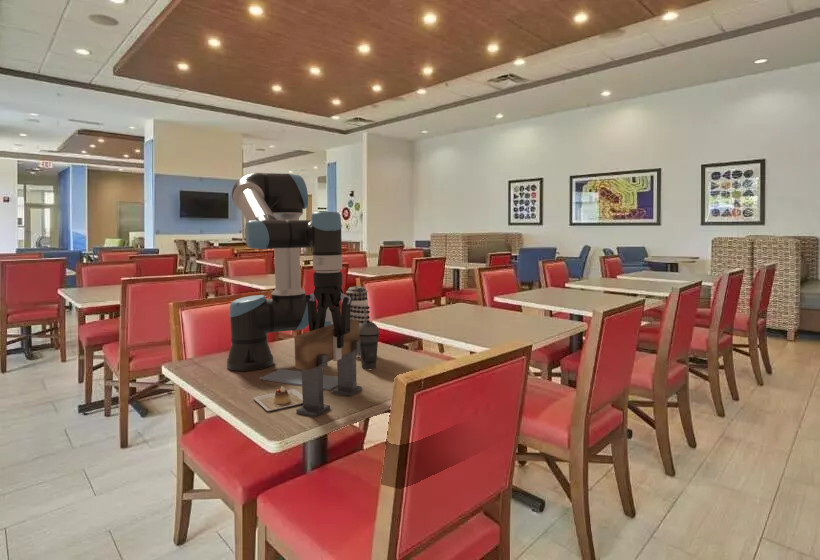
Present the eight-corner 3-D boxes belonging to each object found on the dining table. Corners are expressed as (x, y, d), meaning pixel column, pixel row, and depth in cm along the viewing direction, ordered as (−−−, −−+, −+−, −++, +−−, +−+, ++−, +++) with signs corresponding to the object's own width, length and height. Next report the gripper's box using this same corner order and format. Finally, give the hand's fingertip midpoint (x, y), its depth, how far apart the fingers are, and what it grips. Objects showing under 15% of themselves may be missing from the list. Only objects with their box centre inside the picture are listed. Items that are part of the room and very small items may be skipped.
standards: (293, 412, 121) (291, 354, 120) (341, 386, 141) (339, 336, 140) (319, 417, 118) (317, 358, 116) (364, 390, 138) (363, 338, 136)
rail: (295, 368, 118) (294, 336, 118) (347, 346, 140) (347, 319, 139) (308, 370, 117) (307, 337, 116) (359, 347, 138) (359, 320, 138)
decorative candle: (341, 353, 179) (340, 286, 176) (365, 350, 183) (364, 285, 180) (350, 359, 171) (348, 289, 168) (374, 356, 175) (373, 287, 172)
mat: (259, 379, 149) (259, 377, 149) (281, 370, 158) (281, 369, 158) (330, 390, 138) (330, 388, 138) (349, 380, 147) (349, 378, 147)
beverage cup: (376, 371, 156) (375, 310, 154) (355, 370, 157) (353, 309, 155) (382, 365, 163) (381, 306, 161) (361, 364, 164) (360, 306, 162)
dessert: (252, 401, 131) (251, 384, 131) (294, 392, 138) (294, 376, 138) (267, 415, 122) (266, 396, 121) (311, 404, 128) (311, 387, 128)
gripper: (292, 271, 126) (295, 358, 129) (348, 273, 119) (350, 366, 121) (309, 269, 133) (312, 352, 135) (363, 271, 126) (365, 358, 128)
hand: (330, 358), depth 128 cm, fingers closed on rail, 4 cm apart
